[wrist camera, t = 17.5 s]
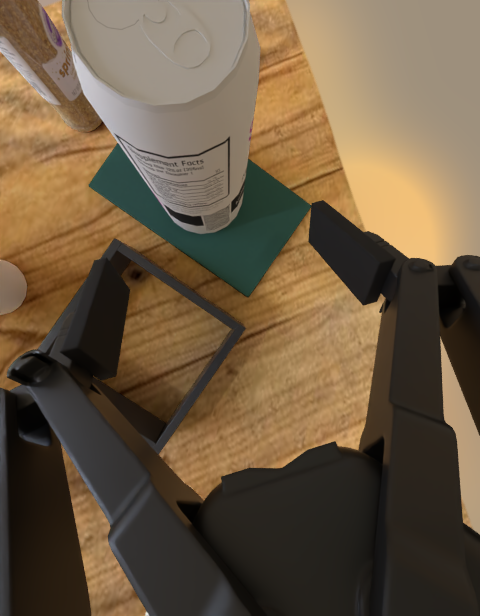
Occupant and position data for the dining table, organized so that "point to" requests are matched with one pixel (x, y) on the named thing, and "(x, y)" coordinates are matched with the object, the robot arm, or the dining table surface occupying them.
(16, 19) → the sprinkles bottle
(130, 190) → the mat
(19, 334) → the dining table surface
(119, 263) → the square frame
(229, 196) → the supplement can
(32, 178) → the dining table surface
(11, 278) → the white coffee cup
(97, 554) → the dining table surface
